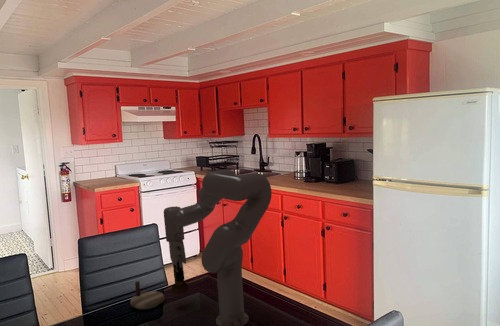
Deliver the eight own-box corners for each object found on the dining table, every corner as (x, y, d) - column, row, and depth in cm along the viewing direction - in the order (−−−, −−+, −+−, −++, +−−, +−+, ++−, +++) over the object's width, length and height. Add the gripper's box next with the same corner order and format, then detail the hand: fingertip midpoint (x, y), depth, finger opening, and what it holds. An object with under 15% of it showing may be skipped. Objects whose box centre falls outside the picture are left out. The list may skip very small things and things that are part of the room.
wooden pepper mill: (184, 294, 159) (180, 251, 158) (170, 294, 160) (165, 251, 159) (190, 287, 165) (186, 246, 164) (176, 288, 166) (172, 247, 165)
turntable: (170, 298, 169) (169, 281, 169) (145, 311, 158) (144, 293, 158) (149, 292, 177) (148, 276, 177) (123, 304, 166) (122, 287, 166)
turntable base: (161, 306, 165) (161, 303, 165) (137, 312, 161) (137, 309, 161) (157, 298, 174) (157, 295, 174) (134, 303, 170) (134, 300, 170)
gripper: (188, 238, 155) (193, 283, 156) (179, 231, 170) (183, 271, 171) (170, 242, 152) (174, 287, 153) (162, 234, 167) (166, 275, 168)
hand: (179, 278), depth 162 cm, fingers closed on wooden pepper mill, 3 cm apart
